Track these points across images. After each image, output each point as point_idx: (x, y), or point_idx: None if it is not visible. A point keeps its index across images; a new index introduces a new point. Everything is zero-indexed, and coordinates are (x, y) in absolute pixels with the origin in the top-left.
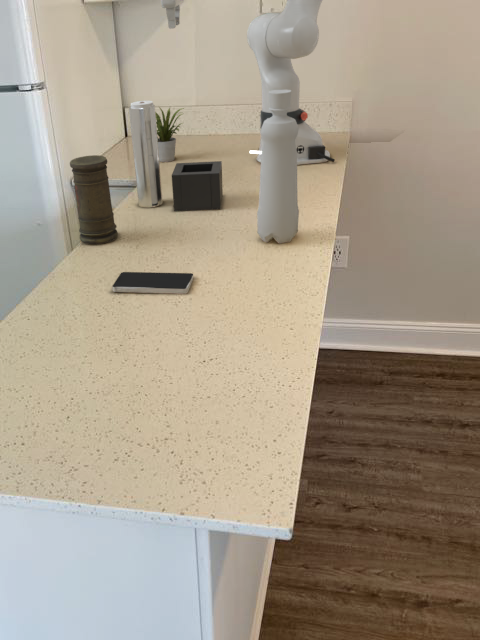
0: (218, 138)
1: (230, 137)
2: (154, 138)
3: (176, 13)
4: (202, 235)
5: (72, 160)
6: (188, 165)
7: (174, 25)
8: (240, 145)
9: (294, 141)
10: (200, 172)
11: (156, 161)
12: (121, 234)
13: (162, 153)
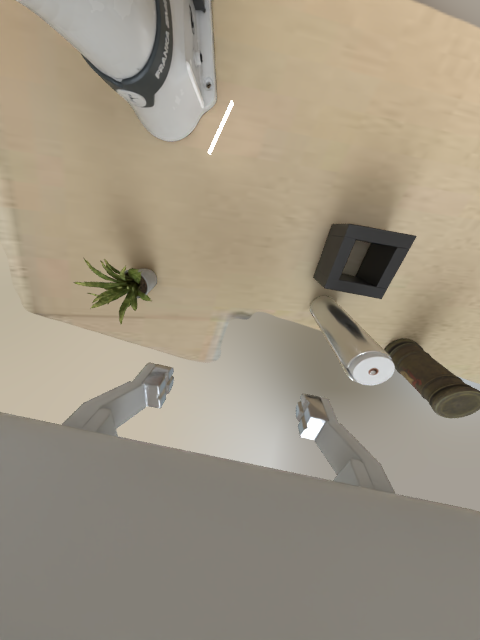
0: (28, 192)
1: (18, 169)
2: (364, 330)
3: (127, 404)
4: (462, 265)
5: (447, 416)
6: (340, 273)
7: (328, 406)
8: (70, 157)
9: None
10: (394, 262)
11: (351, 317)
12: (401, 335)
13: (153, 285)
